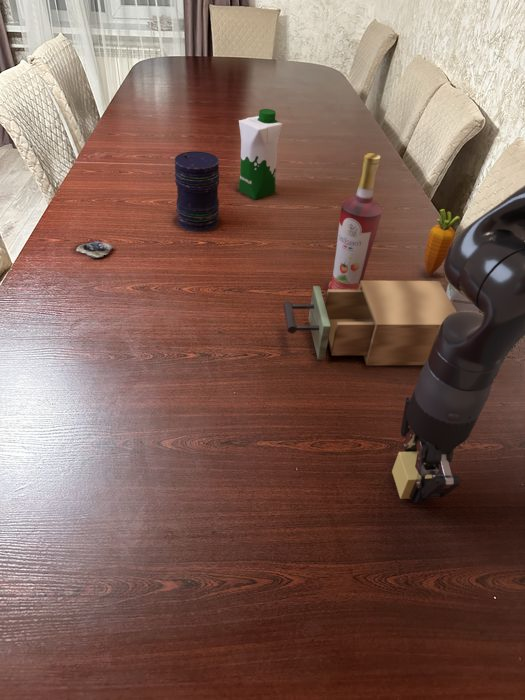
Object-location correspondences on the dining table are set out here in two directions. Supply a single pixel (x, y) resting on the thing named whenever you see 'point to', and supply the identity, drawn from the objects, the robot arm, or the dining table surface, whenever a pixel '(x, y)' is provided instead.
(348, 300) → the drawer
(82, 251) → the oyster shell
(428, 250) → the carrot
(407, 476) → the block
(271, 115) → the milk carton
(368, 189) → the liquor
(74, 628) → the dining table surface
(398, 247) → the dining table surface
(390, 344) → the cabinet
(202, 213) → the storage jar
